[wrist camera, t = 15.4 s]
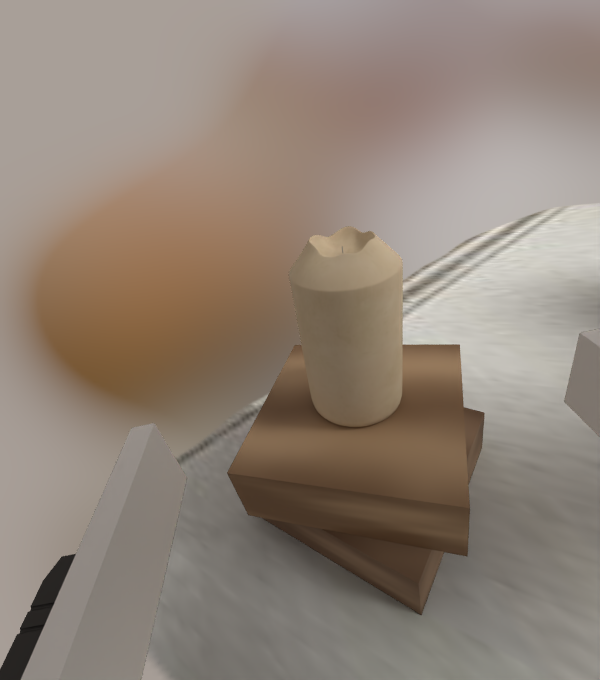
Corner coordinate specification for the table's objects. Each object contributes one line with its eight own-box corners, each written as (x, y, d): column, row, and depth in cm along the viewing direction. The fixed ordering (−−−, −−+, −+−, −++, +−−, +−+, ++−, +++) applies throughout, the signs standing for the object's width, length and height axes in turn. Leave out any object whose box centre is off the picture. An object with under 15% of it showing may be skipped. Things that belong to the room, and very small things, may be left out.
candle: (299, 420, 22) (264, 260, 16) (325, 363, 26) (305, 220, 20) (395, 436, 20) (393, 259, 14) (407, 370, 24) (408, 214, 18)
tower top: (305, 383, 31) (294, 345, 29) (458, 389, 27) (459, 344, 25) (248, 515, 22) (227, 472, 20) (467, 556, 18) (469, 507, 16)
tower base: (339, 406, 34) (332, 373, 32) (481, 452, 27) (484, 412, 25) (255, 517, 26) (239, 483, 24) (421, 619, 19) (418, 583, 17)
